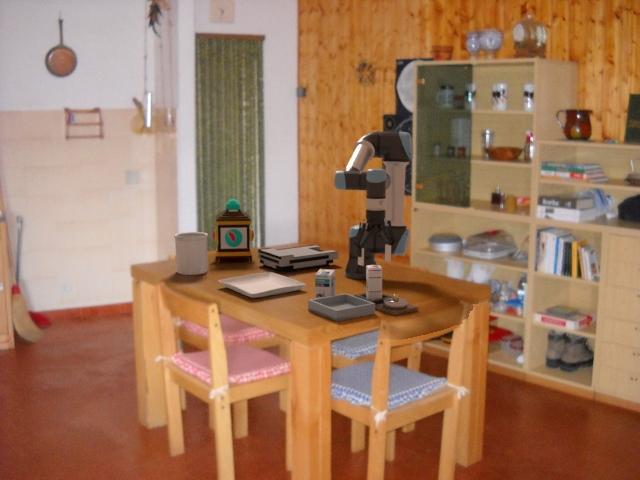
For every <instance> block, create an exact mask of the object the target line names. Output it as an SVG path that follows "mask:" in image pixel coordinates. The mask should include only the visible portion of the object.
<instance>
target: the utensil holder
mask: <svg viewBox="0 0 640 480" xmlns="http://www.w3.org/2000/svg"><path fill="white" fill-rule="evenodd" d="M208 236H209V234H208V233H207V232H201V231H186V232H185V231H184V232H177V233H175V234H174V239H175V258H176V259H175V262H176V273H177V274H180V275H183V276H184V275H185V276H197V275H202V274H206V273H207V272H208Z"/></svg>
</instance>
